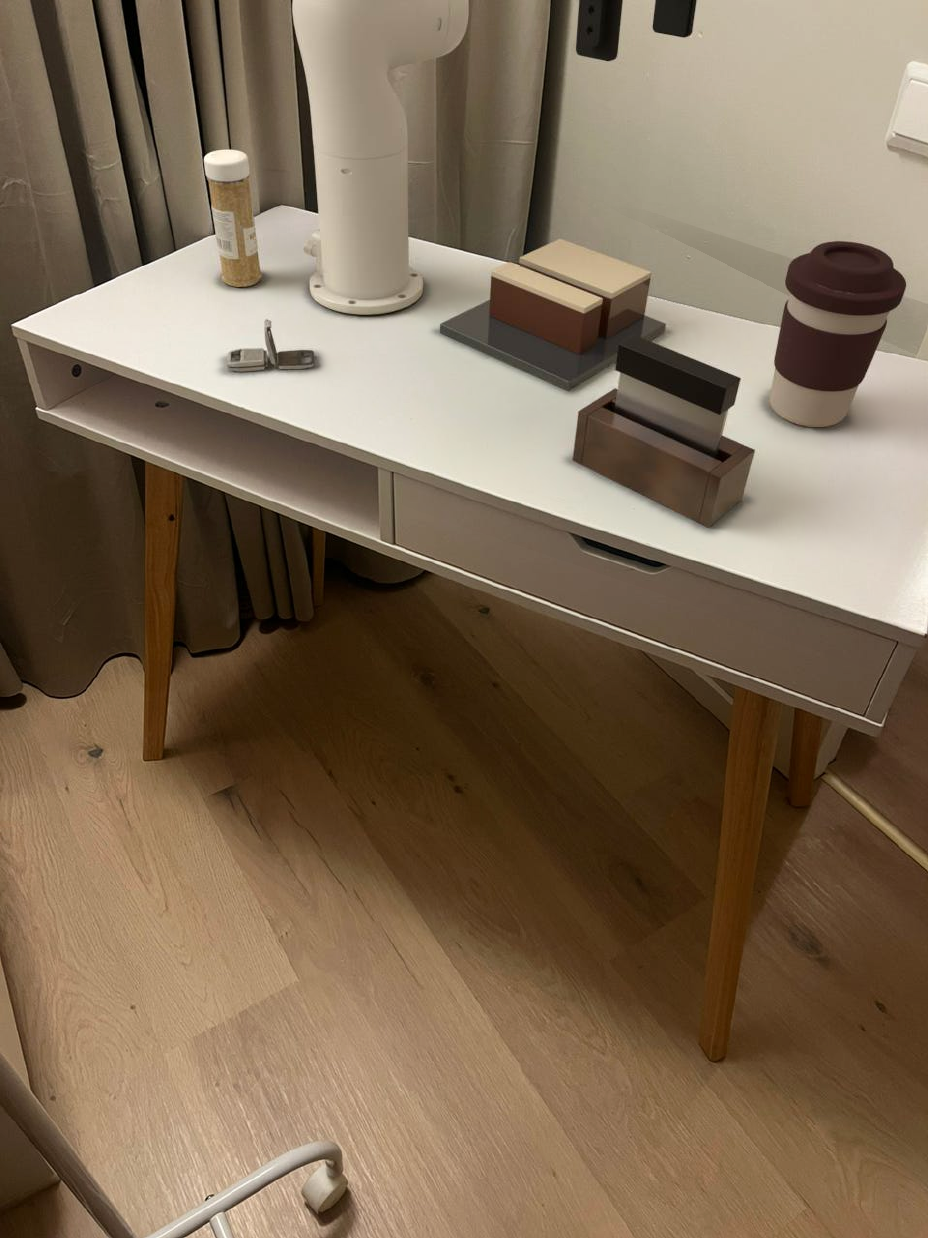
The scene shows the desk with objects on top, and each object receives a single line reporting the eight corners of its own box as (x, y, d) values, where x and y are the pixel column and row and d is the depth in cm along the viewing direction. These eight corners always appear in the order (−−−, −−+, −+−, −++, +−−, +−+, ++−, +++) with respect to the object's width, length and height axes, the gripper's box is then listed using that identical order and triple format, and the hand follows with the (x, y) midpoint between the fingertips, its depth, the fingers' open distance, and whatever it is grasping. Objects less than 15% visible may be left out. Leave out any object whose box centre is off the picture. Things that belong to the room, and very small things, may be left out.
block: (572, 460, 88) (578, 410, 84) (607, 436, 91) (615, 387, 87) (708, 527, 81) (721, 477, 78) (742, 499, 84) (755, 449, 81)
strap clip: (227, 373, 97) (221, 332, 94) (228, 357, 99) (222, 318, 96) (315, 368, 98) (311, 329, 95) (314, 353, 100) (310, 314, 97)
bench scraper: (601, 461, 88) (618, 343, 80) (615, 451, 89) (634, 334, 81) (698, 509, 83) (726, 388, 75) (711, 497, 84) (741, 377, 76)
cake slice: (488, 315, 105) (491, 270, 102) (507, 306, 107) (509, 261, 104) (579, 354, 100) (584, 307, 96) (597, 344, 101) (603, 298, 98)
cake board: (439, 332, 104) (440, 277, 100) (540, 282, 114) (544, 230, 110) (567, 391, 96) (574, 333, 92) (664, 332, 106) (674, 278, 102)
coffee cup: (782, 372, 100) (823, 223, 90) (876, 406, 96) (930, 254, 86) (735, 411, 95) (773, 256, 84) (833, 449, 90) (885, 292, 80)
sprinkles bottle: (269, 282, 112) (254, 157, 103) (231, 291, 110) (213, 165, 101) (251, 267, 115) (236, 144, 105) (214, 276, 113) (196, 151, 104)
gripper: (690, -270, 68) (656, 19, 79) (533, -272, 58) (520, 58, 69) (791, -270, 64) (740, 33, 75) (641, -271, 54) (609, 77, 66)
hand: (635, 45), depth 72 cm, fingers open, 9 cm apart
